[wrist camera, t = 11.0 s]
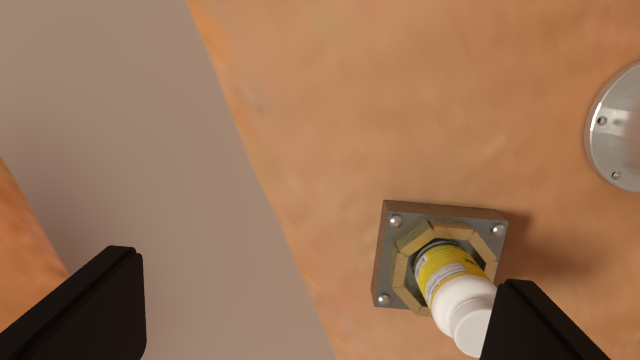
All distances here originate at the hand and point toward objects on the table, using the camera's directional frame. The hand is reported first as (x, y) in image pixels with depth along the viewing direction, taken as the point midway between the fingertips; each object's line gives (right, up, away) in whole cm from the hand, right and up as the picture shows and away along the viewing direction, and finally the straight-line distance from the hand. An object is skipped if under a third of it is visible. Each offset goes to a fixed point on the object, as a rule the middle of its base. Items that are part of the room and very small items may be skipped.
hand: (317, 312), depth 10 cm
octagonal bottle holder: (+11, -4, +28) cm, 31 cm away
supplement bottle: (+11, -4, +26) cm, 28 cm away
